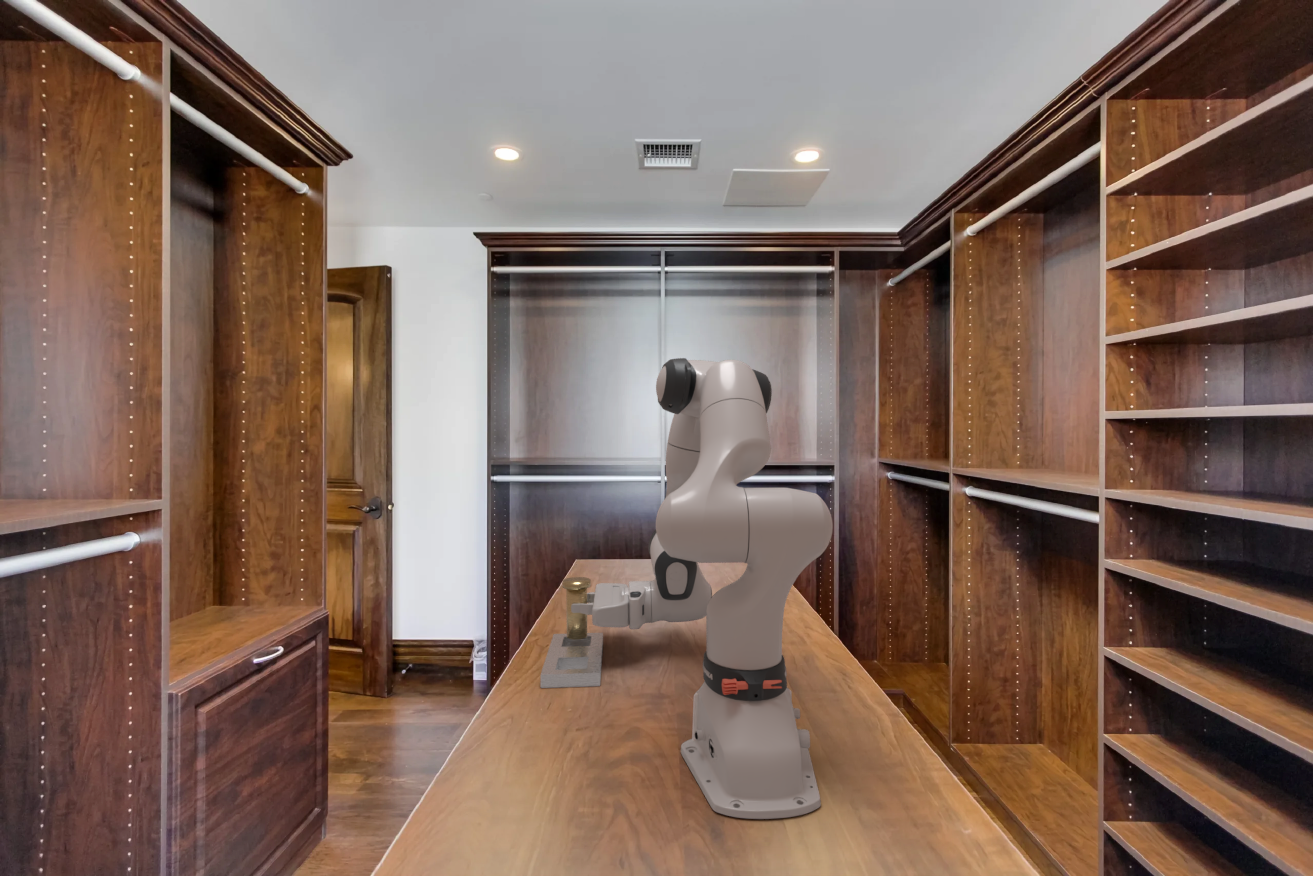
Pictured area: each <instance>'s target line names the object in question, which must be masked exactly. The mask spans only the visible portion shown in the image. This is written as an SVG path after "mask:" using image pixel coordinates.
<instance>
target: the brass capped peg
mask: <svg viewBox="0 0 1313 876" xmlns="http://www.w3.org/2000/svg"><path fill="white" fill-rule="evenodd" d="M591 584H592V583H591V578H589V577H583V576H574V577H573V576H572V577H568V578H564V579H563V580H562V588H563V589H565V590H566V591H565V593H566V634H567V638H569V639H574V640H577V639H583V638H586V637H587V633H588V615H586V614H582V613H572V612H571V605H572V603H574V602H580V603H584V604H588V603H587V593H588V589H589V588H590V587H591Z"/></svg>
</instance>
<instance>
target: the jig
mask: <svg viewBox="0 0 1313 876" xmlns="http://www.w3.org/2000/svg"><path fill="white" fill-rule="evenodd" d="M603 648H604V632H587V637H586V638H583V639H577V640H574V639H569V638H567V633H553V635H552V638H551V641H550V644H549V647H548V650H547V654H546V656H545V660H544V663H543V665H542V669H541V673H540V689H551V688H555V689H557V688H577V687H579V688H583V687H586V688H587V687H600V686H601V677H602V676H601V675H602V663H603Z"/></svg>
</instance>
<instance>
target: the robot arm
mask: <svg viewBox="0 0 1313 876" xmlns="http://www.w3.org/2000/svg"><path fill="white" fill-rule="evenodd" d="M655 390H656V391H655V392H656V396H657V403H658V404H659V406H660V407H661V408H662V410H664V411H666V412H669V413H671V414H673V417H672V421H671V424H670V428H669V432H668V438H667V443H666V450H665V451H666V453H665V476H666V491H665V496H664V499H663V501H662V503H661V504H660V506H659V508H658V510H657V512H656V513H657V514H656V518H655V530H654V531H653V533H652V534H651V536H650V538H649V541H648V544H647V545H648V547H647V548H648V549H647V550H648V553H649V557H650V561H651V562H650V563H651V566H652V571H653V575H654V579H653V580H630V581H628V584H626V583H618V582H616V583H614V582H613V583H612V582H610V583H609V582H601V583H597V584H596V585H595V590H594V591H591V592H587V604H584V603H580V602H574V603H572V605H571V612H572V613H582V614H586V615H587V616H588V615H589V616H590V615H591V620H592V621H591V622H592V625H593V626H596V627H600V628H625V627H626V628H627V627H628V628H629V629H630V630H639V629H641V627H642V626H643V625H645V624H650V623H651V624H653V623H657V622H661V621H663V622H668V623H683V622H686V623H687V622H693V621H698V620H701V619H703V618H705V617H706V620H705V621H706V623H705V626H706V628H705V629H706V631H705V632H706V651H705V652H704V653H703V661H702V670H703V676H702V677H703V683H702V685H701V686H700V687H699V689H698V690H697V691H696V692H695V693H694V694H693V706H692V729H691V730H692V733H691V734H692V735H691V738H690V739H688V740H685V741H684V742H683V743H682V744H681V746H680V753H681V756H682V758H683V759H684V761H685V764H686V765H687V767H688V769H689V770H690V772H691V774H692V776H693V778H694V780H695V782H697V784H698V786H699V788H700V790H701V792H702V794H703V795H704V796H705V799H706V800H707V802H708V804H709V805H710V808H711V809H712V810H713V811H714V812H716V813H718V814H721V815H724V816H727V817H728V816H729V817H733V818H740V819H750V820H751V819H753V820H764V819H765V820H769V819H771V820H773V819H783V818H791V817H798V816H802V815H805V814H808V813H811V812H814V811H815V810H817V809H819V808H820V807H821V805H822V804H821V803H822V802H821V795H820V792H819V788H818V787H819V786H818V783H817V779H816V775H815V770H814V766H813V762H812V758H811V754H810V751H809V749H810V748H811V737H810V736H811V735H810V731H809V730H808V729H805V728H804V729H803V728H798V726H797V721H796V720H800V719H801V709H800V708H797V707H794V706H793V702H792V694H793V693H792V690H791V689H790V688H788V681H787V674H788V673H787V666H786V661H785V656H784V655H783V651H782V650H783V625H784V612H785V607H786V602H787V600H788V599H787V598H788V596H789V593H790V592H791V589H792V586H793V585H794V583H795V582H796V581H797V579H798V578H799V576H800V574H801V573H802V572H803V571H804V570H805V569H806V567H808V566H809V565H810V564H811V563H812V562H813V561H815V560H816V559H817V558H819V557H820V556H821V555H822V554H823V553H824V552H825V551H826V549H827V547H828V546H829V544H830V542H831V539H832V535H833V526H834V525H833V518H832V515H831V511H830V509H829V507H828V505H827V504H826V502H825V501H824V500H823V498H821V496H820V495H819V494H818V493H815V492H811V491H806V490H801V489H796V488H790V487H743V486H738V484H740V482H743V481H745V480H747V479H749V478H751V477H753V476H755V475H756V474H758V473H759V472H760V471H761V470H762V469H763V468H764V467H765V465H767V463H768V462H769V460H770V457H771V454H772V453H771V452H772V445H771V440H770V438H771V437H770V431H769V425H768V417H767V413H768V411H769V410H770V406H771V403H772V402H771V401H772V393H773V392H772V384H771V381H770V380H769V377H768V376H767V374H765V373H763V372H762V371H760V370H755V369H754V368H752V367H750V365H748V364H747V363H746V362H743V361H741V360H738V359H725V360H720V361H714V360H713V361H712V360H705V359H703V360H701V359H699V360H697V359H687V358H686V357H682V358H681V357H680V358H679V357H677V358H672V359H670V358H669V360H667V361H666V362H665V363H664V364H663V365H662V368H661V369H660V371H659V373H658V375H657V377H656V384H655ZM700 563H701V564H703V563H706V564H709V563H715V564H716V563H717V564H718V563H722V564H723V563H724V564H726V563H727V564H728V563H730V564H732V563H736V564H737V563H740V564H741V563H744V564H747V565H746V568H745V571H744V572H743V573H742V574H741V576H740V577H739V578H738V579H736V580H734V582H731V583H729V584H726V585H725V586H723V587H721V588H720V589H719V590H717V591H716V592H715V593H714V594H713V590H712V585H711V584H710V583H709V582H708V581H707V579H706V578H705V576H704V573H703V572H702V570H701V568H700V565H699V564H700Z"/></svg>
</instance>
